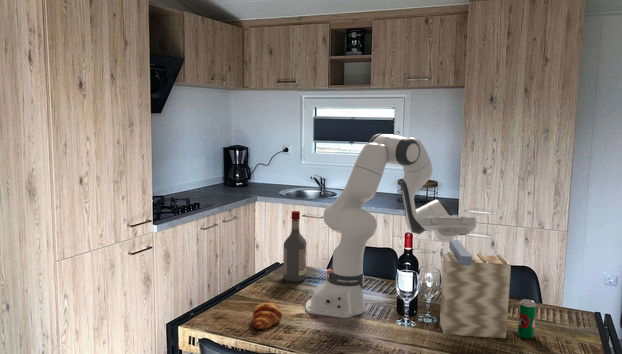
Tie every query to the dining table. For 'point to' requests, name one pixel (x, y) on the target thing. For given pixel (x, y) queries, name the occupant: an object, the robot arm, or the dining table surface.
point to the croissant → (266, 315)
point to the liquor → (294, 253)
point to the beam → (460, 252)
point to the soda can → (526, 319)
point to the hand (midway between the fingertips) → (450, 218)
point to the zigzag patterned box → (475, 296)
